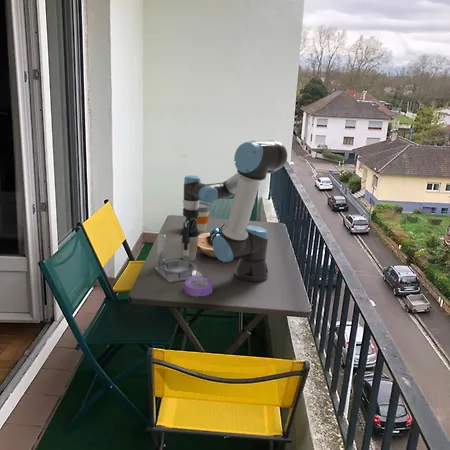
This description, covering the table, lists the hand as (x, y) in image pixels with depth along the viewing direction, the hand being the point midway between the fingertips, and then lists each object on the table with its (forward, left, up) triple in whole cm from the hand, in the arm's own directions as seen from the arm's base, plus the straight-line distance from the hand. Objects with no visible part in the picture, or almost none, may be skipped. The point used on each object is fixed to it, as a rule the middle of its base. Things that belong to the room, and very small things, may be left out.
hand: (189, 252), depth 225 cm
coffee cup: (0, 0, -3) cm, 3 cm away
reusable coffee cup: (+41, -26, -3) cm, 49 cm away
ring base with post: (-14, +12, -3) cm, 19 cm away
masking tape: (-34, +12, -4) cm, 36 cm away
